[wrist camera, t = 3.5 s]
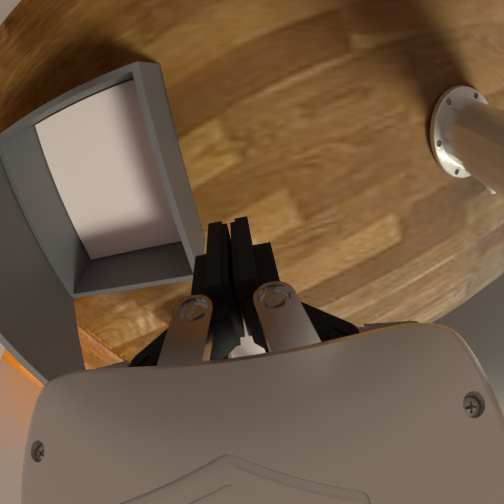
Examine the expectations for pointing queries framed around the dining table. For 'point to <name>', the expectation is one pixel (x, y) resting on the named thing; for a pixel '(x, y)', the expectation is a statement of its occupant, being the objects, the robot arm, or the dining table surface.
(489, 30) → the dining table surface
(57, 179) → the box
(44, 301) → the mailer lid
